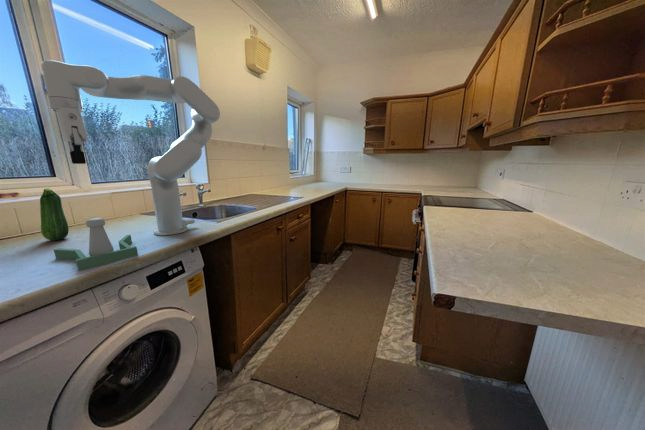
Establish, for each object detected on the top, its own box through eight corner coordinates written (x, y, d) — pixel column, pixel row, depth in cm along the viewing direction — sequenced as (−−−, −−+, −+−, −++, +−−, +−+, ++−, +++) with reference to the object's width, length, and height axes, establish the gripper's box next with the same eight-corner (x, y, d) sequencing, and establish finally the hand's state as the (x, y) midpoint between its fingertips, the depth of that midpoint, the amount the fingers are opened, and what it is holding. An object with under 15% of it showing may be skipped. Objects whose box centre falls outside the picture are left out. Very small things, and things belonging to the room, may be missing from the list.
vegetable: (56, 237, 99) (44, 187, 94) (76, 236, 99) (64, 187, 95) (38, 243, 91) (23, 189, 87) (59, 242, 92) (46, 189, 88)
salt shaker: (99, 263, 74) (90, 221, 71) (85, 261, 76) (76, 220, 73) (119, 256, 80) (112, 217, 77) (106, 254, 81) (98, 216, 78)
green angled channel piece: (131, 241, 93) (130, 234, 93) (148, 253, 82) (147, 244, 82) (55, 258, 78) (53, 249, 77) (64, 274, 67) (61, 264, 67)
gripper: (87, 104, 78) (99, 163, 82) (78, 110, 87) (89, 163, 91) (52, 100, 72) (67, 164, 76) (47, 106, 81) (60, 163, 85)
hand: (79, 163), depth 84 cm, fingers closed
